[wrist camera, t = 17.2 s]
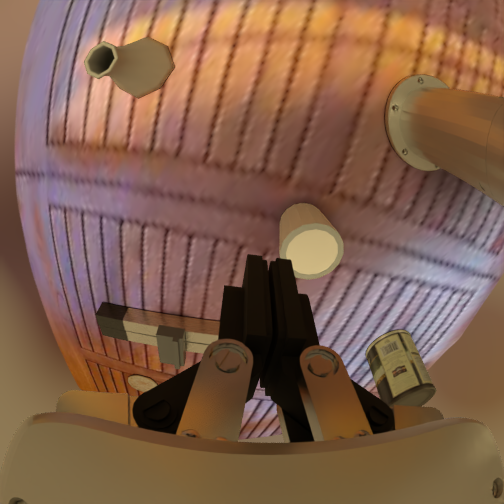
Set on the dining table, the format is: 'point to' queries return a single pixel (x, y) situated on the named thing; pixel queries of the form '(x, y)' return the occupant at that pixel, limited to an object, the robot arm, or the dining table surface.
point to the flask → (132, 65)
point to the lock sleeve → (171, 345)
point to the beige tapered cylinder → (309, 241)
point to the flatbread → (141, 383)
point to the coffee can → (399, 370)
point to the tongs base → (148, 339)
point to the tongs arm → (156, 323)
